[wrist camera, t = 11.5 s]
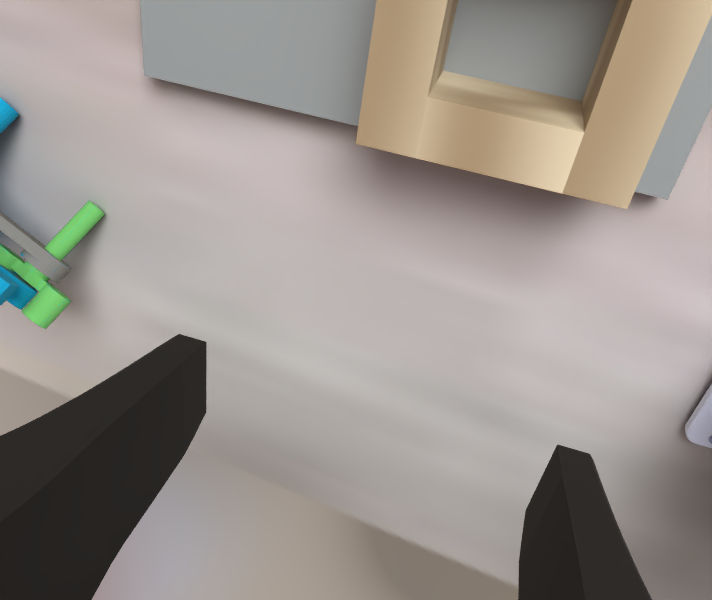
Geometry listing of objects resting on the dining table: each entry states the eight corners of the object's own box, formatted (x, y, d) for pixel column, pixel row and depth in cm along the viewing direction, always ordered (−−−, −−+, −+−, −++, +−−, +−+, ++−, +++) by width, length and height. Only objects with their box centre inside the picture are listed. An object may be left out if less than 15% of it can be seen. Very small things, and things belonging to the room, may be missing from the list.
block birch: (743, -130, 14) (774, -129, 12) (620, 170, 18) (626, 209, 16) (426, -183, 15) (404, -190, 13) (377, 113, 19) (355, 143, 17)
